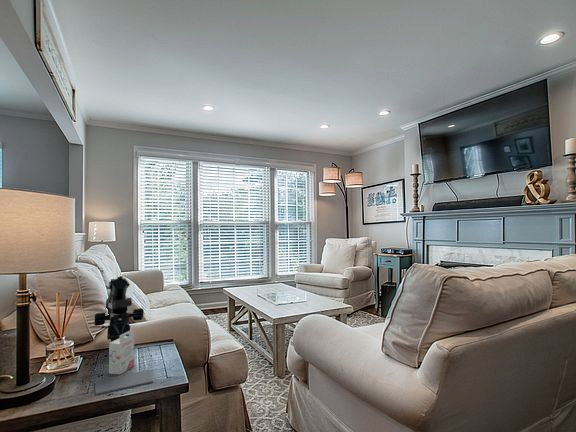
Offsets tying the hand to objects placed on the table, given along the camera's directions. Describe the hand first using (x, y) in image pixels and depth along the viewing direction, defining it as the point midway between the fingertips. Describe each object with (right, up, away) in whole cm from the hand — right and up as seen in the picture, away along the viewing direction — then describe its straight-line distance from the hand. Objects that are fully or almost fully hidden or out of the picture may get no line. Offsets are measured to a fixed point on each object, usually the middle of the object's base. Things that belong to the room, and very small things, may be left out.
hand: (120, 334), depth 138 cm
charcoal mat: (+11, -10, -19) cm, 24 cm away
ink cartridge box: (+5, -11, -8) cm, 14 cm away
